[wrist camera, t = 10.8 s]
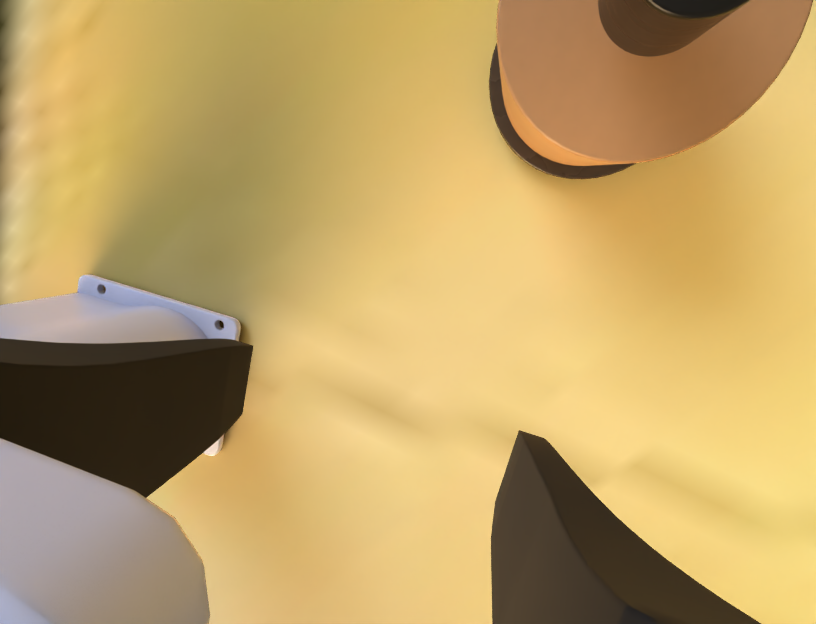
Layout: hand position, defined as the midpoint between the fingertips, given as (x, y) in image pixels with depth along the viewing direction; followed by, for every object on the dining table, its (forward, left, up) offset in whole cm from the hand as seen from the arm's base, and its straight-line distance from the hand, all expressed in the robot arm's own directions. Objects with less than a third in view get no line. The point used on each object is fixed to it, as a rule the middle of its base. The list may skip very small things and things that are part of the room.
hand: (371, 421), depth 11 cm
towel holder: (+4, +12, -10) cm, 16 cm away
